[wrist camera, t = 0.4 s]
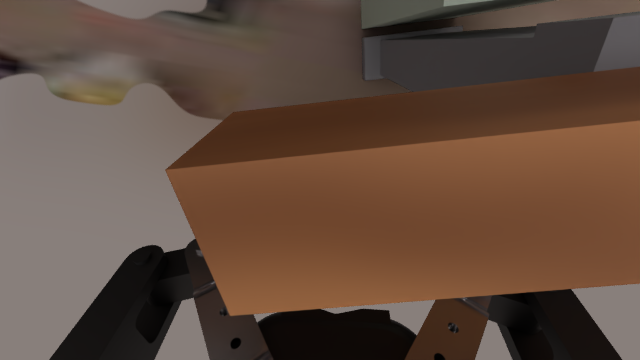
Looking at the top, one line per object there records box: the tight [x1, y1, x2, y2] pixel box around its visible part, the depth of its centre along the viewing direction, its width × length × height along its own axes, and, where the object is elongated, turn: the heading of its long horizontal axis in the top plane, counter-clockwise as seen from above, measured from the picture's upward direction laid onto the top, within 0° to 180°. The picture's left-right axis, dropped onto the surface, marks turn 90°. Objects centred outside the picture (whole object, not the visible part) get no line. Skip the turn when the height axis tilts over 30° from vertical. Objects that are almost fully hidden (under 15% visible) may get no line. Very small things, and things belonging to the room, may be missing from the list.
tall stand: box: [362, 12, 640, 92], centre depth 20 cm, size 5×12×32 cm, turn 96°
